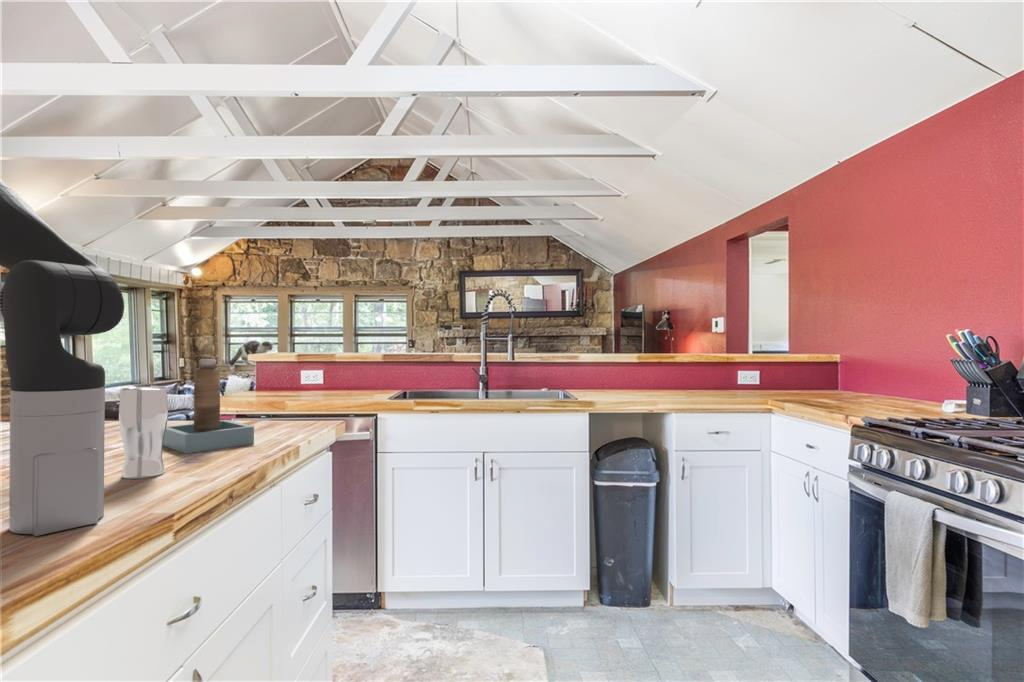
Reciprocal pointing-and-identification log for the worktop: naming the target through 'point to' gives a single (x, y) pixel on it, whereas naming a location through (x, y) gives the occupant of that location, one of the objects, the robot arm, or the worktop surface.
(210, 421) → the pepper mill
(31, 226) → the robot arm
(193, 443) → the tray
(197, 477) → the worktop surface
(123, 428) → the beer glass
